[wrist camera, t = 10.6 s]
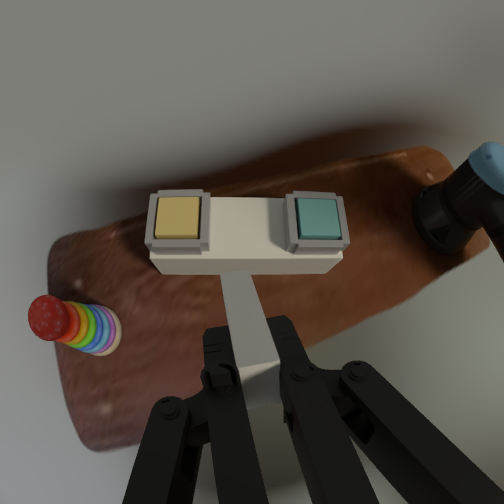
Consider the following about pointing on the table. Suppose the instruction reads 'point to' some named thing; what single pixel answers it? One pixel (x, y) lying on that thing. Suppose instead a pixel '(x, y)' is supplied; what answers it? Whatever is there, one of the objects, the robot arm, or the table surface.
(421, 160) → the table surface
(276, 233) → the button console
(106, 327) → the stacking toy
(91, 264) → the table surface
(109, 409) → the table surface
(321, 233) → the teal button
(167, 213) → the mustard button
